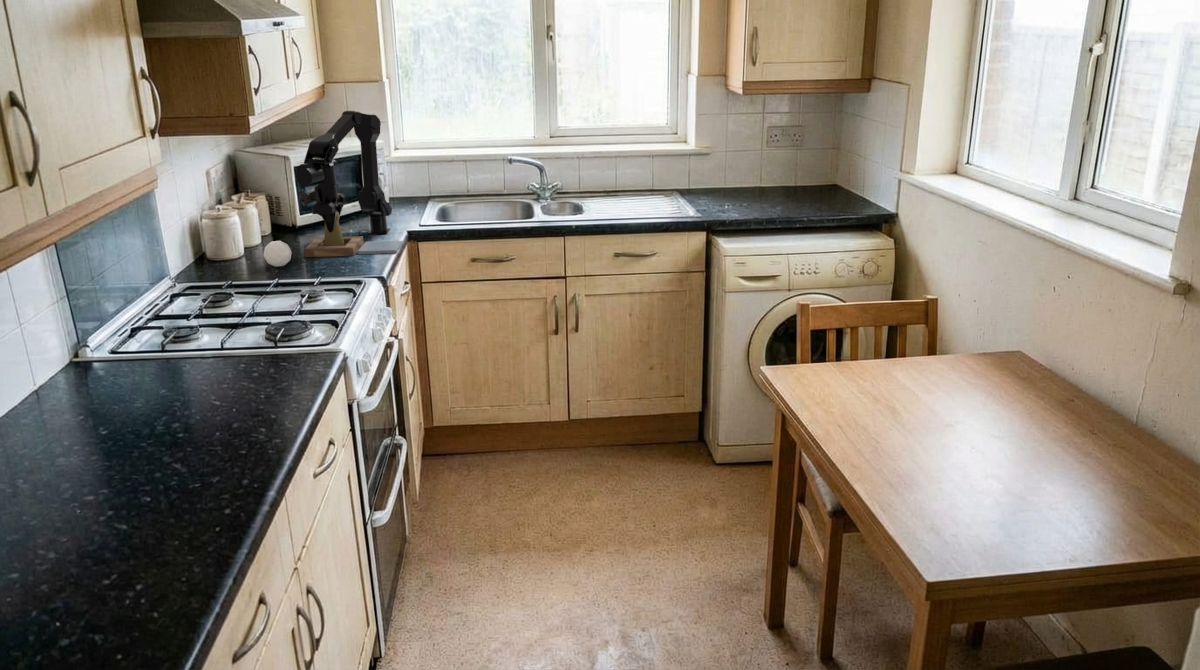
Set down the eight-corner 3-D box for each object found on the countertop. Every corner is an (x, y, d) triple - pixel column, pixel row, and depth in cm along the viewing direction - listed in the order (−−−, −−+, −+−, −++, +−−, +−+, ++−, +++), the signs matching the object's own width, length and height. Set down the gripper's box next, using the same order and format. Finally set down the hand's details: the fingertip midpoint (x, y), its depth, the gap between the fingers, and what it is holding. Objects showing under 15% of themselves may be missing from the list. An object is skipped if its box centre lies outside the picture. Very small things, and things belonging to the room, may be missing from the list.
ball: (288, 273, 258) (301, 253, 256) (265, 270, 251) (278, 249, 249) (276, 257, 261) (289, 237, 259) (254, 254, 255) (266, 233, 252)
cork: (332, 247, 268) (327, 213, 264) (320, 244, 272) (316, 210, 268) (348, 243, 273) (344, 209, 269) (336, 241, 276) (332, 207, 272)
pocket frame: (317, 244, 280) (316, 237, 279) (363, 243, 280) (363, 236, 279) (305, 256, 266) (303, 249, 265) (353, 255, 266) (352, 247, 265)
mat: (366, 244, 279) (365, 241, 278) (402, 243, 279) (402, 240, 279) (357, 254, 268) (357, 251, 267) (396, 253, 268) (396, 250, 268)
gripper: (308, 176, 273) (314, 224, 279) (291, 187, 256) (298, 238, 262) (343, 175, 274) (349, 223, 279) (328, 186, 256) (335, 237, 262)
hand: (332, 230), depth 271 cm, fingers closed on cork, 4 cm apart
